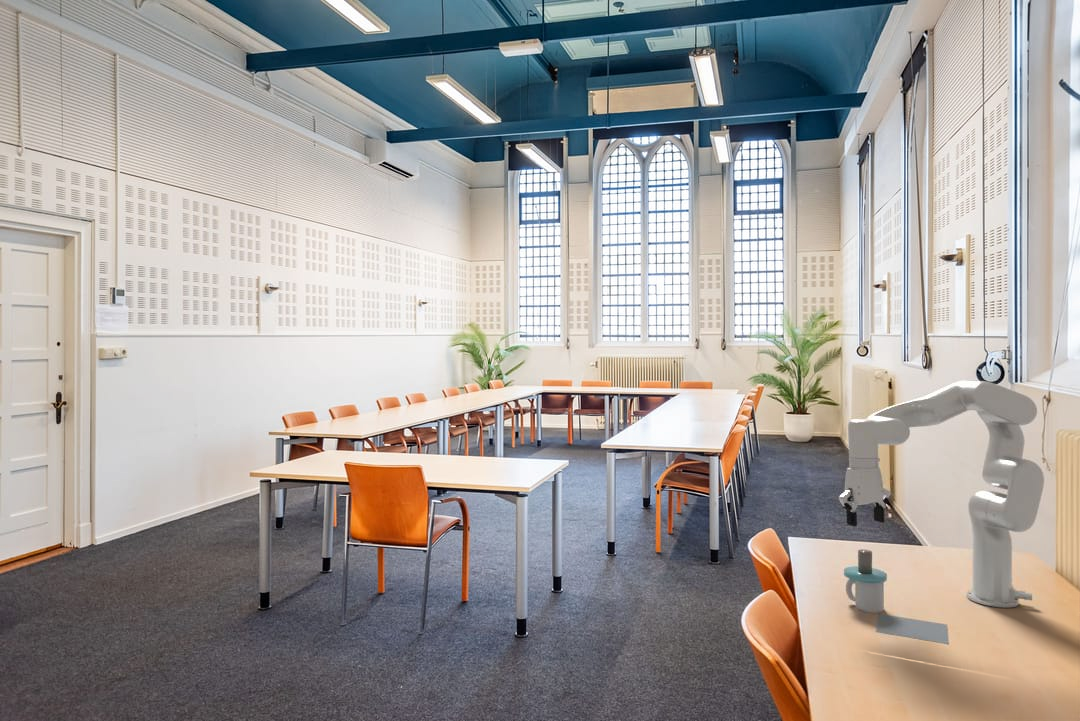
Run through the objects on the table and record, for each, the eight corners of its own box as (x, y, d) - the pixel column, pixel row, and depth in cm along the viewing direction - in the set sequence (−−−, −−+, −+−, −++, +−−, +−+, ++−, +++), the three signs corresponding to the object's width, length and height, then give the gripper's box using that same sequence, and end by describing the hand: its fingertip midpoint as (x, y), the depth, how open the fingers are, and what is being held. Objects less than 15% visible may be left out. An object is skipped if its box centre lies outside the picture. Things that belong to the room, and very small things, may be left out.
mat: (947, 626, 179) (947, 624, 179) (948, 645, 166) (948, 644, 166) (879, 615, 187) (879, 613, 187) (876, 633, 174) (876, 631, 174)
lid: (887, 574, 194) (887, 548, 194) (886, 585, 184) (885, 558, 184) (845, 568, 199) (845, 544, 199) (841, 579, 190) (841, 553, 190)
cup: (879, 616, 186) (879, 583, 186) (841, 607, 193) (841, 575, 193) (887, 608, 191) (887, 577, 191) (850, 600, 198) (850, 569, 198)
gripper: (877, 458, 198) (879, 517, 198) (829, 463, 193) (831, 523, 193) (898, 462, 191) (900, 523, 191) (849, 467, 186) (851, 530, 186)
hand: (865, 523), depth 192 cm, fingers open, 9 cm apart
